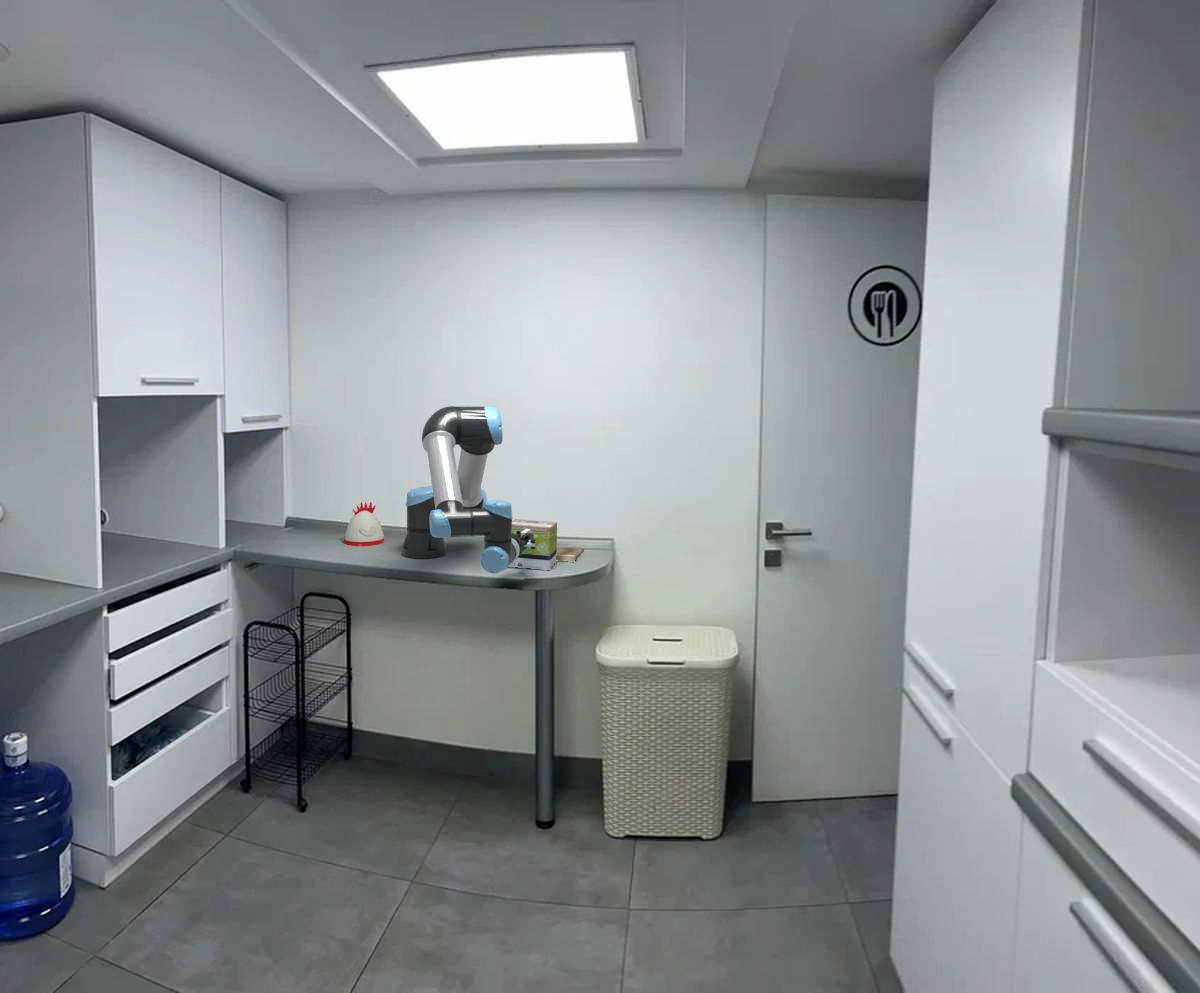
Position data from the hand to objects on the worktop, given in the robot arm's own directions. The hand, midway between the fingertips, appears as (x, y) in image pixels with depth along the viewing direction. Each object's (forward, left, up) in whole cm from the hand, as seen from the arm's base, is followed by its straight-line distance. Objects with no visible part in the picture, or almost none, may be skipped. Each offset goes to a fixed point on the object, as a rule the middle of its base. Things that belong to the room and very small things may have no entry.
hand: (528, 532), depth 242 cm
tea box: (-1, +7, -13) cm, 15 cm away
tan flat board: (-1, +25, -13) cm, 28 cm away
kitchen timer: (-69, +26, -13) cm, 74 cm away
